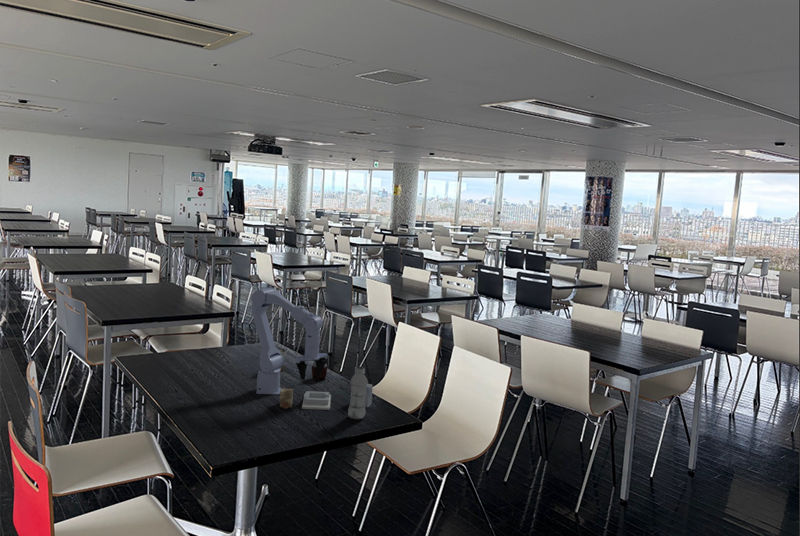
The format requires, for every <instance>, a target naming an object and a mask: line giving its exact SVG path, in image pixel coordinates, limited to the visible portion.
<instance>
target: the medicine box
mask: <svg viewBox="0 0 800 536" xmlns="http://www.w3.org/2000/svg"><path fill="white" fill-rule="evenodd" d="M373 386H374V385H373V384H372V383H371V384H370V383H367V388H366V393H365V408H369V407H370V406H372V404H373V403H372V402H373V401H372V400H373Z"/></svg>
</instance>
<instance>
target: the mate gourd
mask: <svg viewBox="0 0 800 536" xmlns="http://www.w3.org/2000/svg"><path fill="white" fill-rule="evenodd" d="M327 373H328V364H327V363H326V364H325V366H324V367H323V369H322V372H321V375H320V377H318V376H316V361H315V360H314V361H313V363H312V365H311V376H312V377H311V379H312V380H316V382H319V381H320V380H322V381H326V380H327V379H326V377H327Z"/></svg>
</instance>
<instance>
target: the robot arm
mask: <svg viewBox="0 0 800 536" xmlns="http://www.w3.org/2000/svg"><path fill="white" fill-rule="evenodd" d="M250 298H251V314H252V316H253V321H254V324H255V328H256V332H257V336H258V339H259V343H260V348H261V353H260V355H259V367H260V369H261V370H258V371H257V377H256V391H255V392H256V393H255V394H257V395H274V396H275V395H277V396H278V395H280V392H281V389H282V387H280V386H281V373H280V370H281V367H282V366H283V364H284V365H285V360H284V358H283V356H282V355H281V353H280V350H279V349H278V348H277V347H276V345H275V342H274V341H275V340H274V338H273V334H272V331H271V325H270V323H269V320H268V315H267V310H268V308H269V307H270V305H273V304H274V305H277V306H279V307H280V308H282V309H284V311H285V310H286V312H288V313H290V315H291V318H293V319H294V320H296V322H298V323H299V324H301V325H302V326H303V327H304V330H305V344H304V347H305V348H304V354H303V355H300V356H295V359H294V362H295V365H296V366H297V369H298V372H299V377H300V379H301V380H306V370H307V367H308V364H307V363H306V362H311V361H314V362H315V361H316V376H318V377H320V375H321V372H322V369H323V367H324V366H325V364H327V361H328V355H329V354H328V353H326V352H325V353H324V352H323V353H322V352H321V353H320V344H321V343H320V342H321V329H322V328H323V326H324V320H323V317H321V316H320V315H318V314H314V313H313V312H310V311H308V310H307V309H306V308H305V306H304V305H297V306H296V305H295V304H294V303H292V302H291V301H290V300H289V299H287V298H286V297H285V296H284V295H282V294H281V293H280V291H279V290H277V289H275V288H274V287H272V286H270V287H266V288H262V289H256V290H254V291H253V293H252V294H251V297H250Z"/></svg>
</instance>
